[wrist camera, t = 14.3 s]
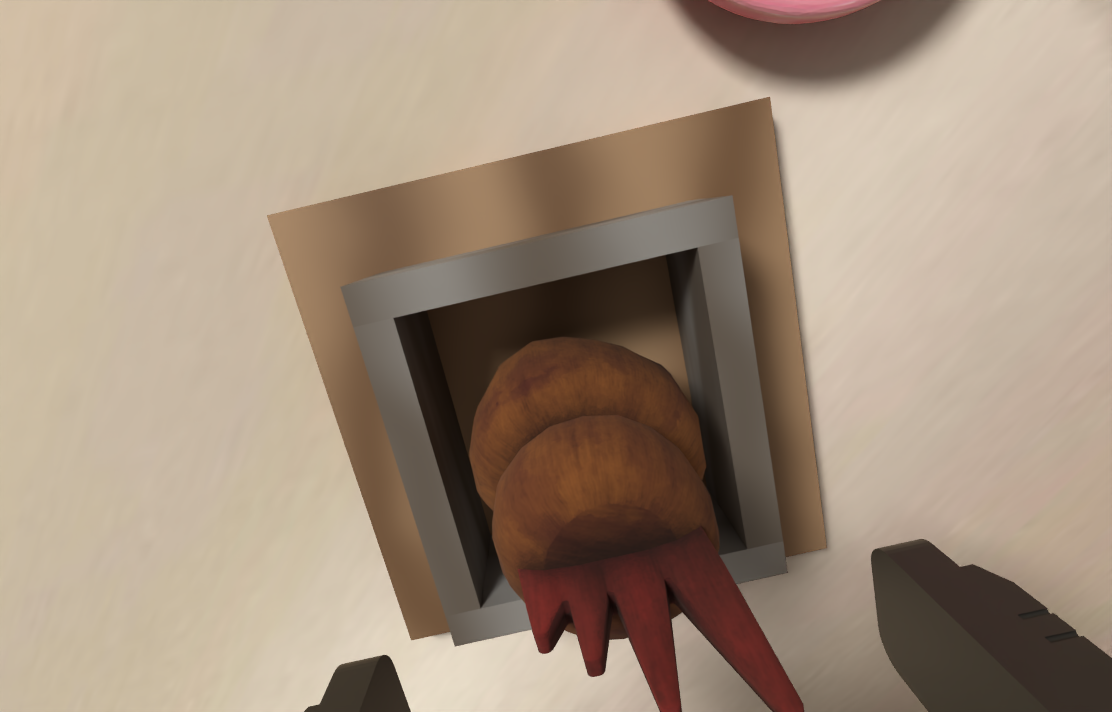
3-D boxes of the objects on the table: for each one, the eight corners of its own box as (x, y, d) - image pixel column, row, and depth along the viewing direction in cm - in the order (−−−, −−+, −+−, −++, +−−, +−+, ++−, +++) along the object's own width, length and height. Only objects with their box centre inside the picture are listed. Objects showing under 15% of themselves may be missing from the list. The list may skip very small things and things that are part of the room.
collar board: (756, 103, 21) (837, 61, 15) (813, 532, 25) (892, 621, 20) (281, 215, 21) (192, 214, 16) (417, 620, 25) (384, 733, 20)
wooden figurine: (675, 337, 22) (973, 586, 7) (643, 476, 23) (840, 931, 8) (497, 308, 21) (419, 512, 6) (475, 452, 22) (369, 892, 8)
